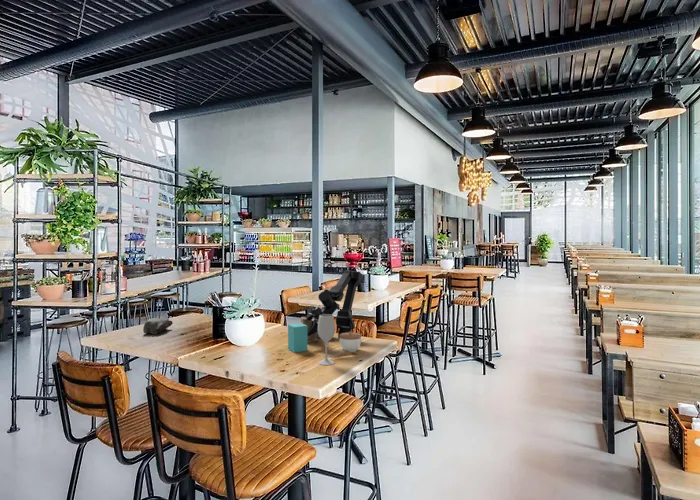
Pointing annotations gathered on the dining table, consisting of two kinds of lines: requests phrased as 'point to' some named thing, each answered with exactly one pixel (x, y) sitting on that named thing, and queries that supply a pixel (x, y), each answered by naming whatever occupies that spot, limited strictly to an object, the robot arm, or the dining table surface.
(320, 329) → the wineglass
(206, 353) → the dining table surface
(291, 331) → the teal block
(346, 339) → the lidded jar
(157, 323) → the rock
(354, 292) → the robot arm
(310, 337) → the walnut block
